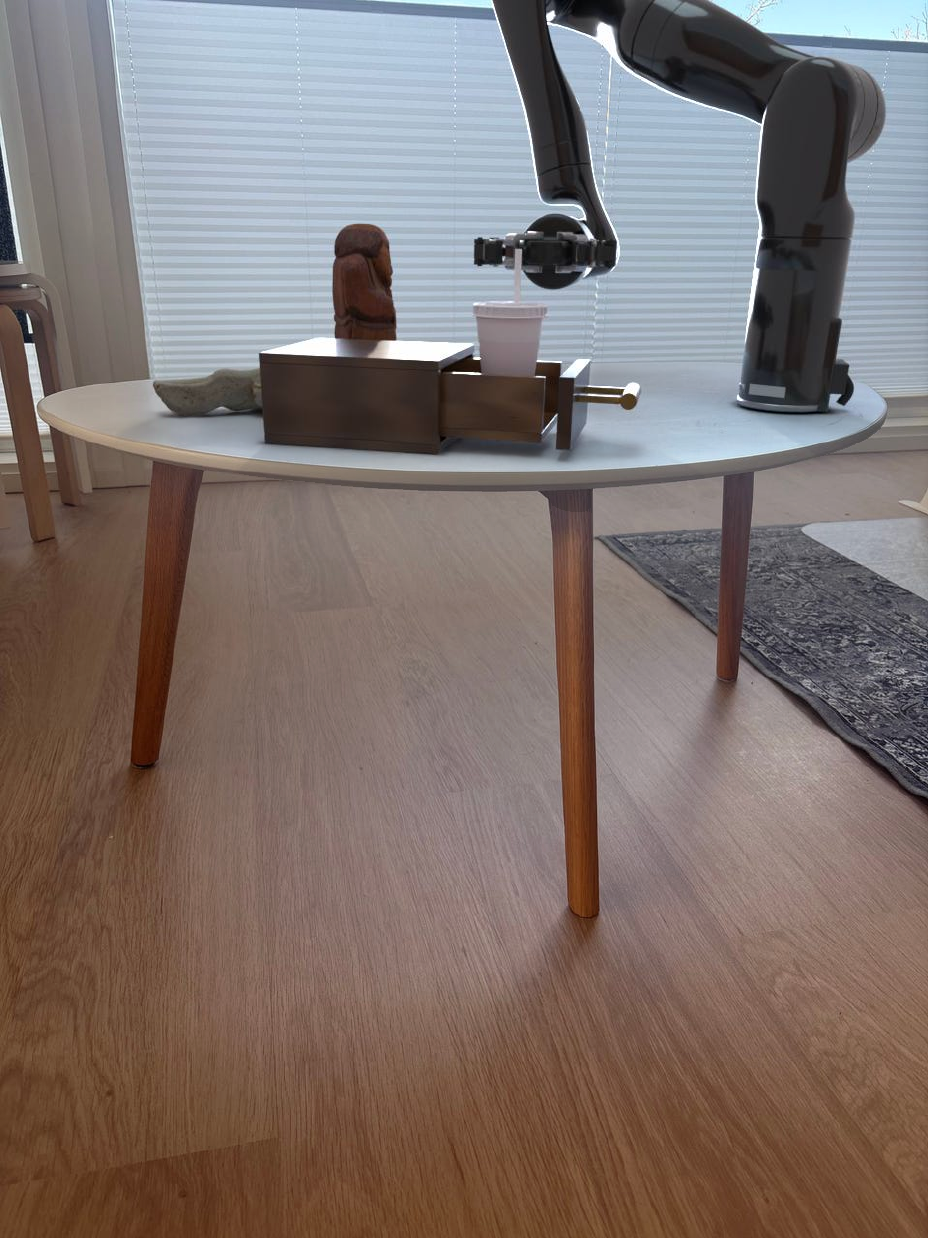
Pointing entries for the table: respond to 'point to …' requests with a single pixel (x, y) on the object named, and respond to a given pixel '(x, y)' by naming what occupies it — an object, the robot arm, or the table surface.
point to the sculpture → (212, 392)
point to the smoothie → (509, 331)
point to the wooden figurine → (363, 285)
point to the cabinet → (357, 393)
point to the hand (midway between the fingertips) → (536, 252)
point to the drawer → (522, 402)
